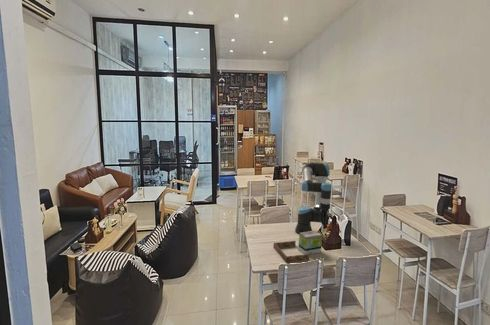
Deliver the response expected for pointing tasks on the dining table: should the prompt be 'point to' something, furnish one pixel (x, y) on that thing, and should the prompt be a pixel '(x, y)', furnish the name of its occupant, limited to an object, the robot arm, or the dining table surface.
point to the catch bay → (289, 258)
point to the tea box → (310, 242)
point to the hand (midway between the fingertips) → (323, 232)
